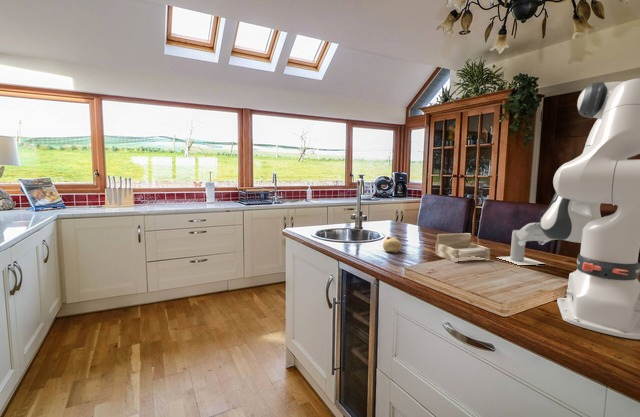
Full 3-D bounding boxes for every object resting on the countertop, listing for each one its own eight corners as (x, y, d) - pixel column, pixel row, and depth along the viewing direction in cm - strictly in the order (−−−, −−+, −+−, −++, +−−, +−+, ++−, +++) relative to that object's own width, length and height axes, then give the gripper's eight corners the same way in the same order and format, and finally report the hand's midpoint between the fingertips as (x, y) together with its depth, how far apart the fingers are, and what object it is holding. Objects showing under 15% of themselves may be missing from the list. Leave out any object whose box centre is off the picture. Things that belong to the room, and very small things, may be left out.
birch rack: (489, 260, 134) (491, 239, 133) (455, 262, 131) (456, 240, 130) (466, 252, 148) (467, 232, 147) (435, 254, 144) (436, 233, 143)
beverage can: (508, 259, 134) (510, 230, 132) (512, 257, 137) (514, 229, 136) (522, 262, 130) (524, 232, 129) (525, 260, 134) (527, 231, 132)
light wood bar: (484, 260, 134) (485, 249, 134) (458, 262, 131) (459, 251, 131) (477, 258, 138) (478, 247, 138) (451, 259, 135) (452, 248, 135)
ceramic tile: (545, 264, 129) (545, 263, 129) (519, 266, 126) (519, 265, 126) (520, 257, 141) (520, 255, 141) (496, 258, 138) (496, 257, 138)
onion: (394, 249, 152) (395, 234, 152) (404, 253, 145) (405, 237, 144) (379, 250, 150) (380, 235, 149) (388, 254, 142) (389, 238, 142)
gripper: (537, 230, 114) (512, 251, 125) (582, 228, 119) (555, 249, 130) (527, 216, 118) (504, 238, 128) (571, 215, 123) (546, 236, 133)
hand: (530, 243), depth 129 cm, fingers open, 8 cm apart
